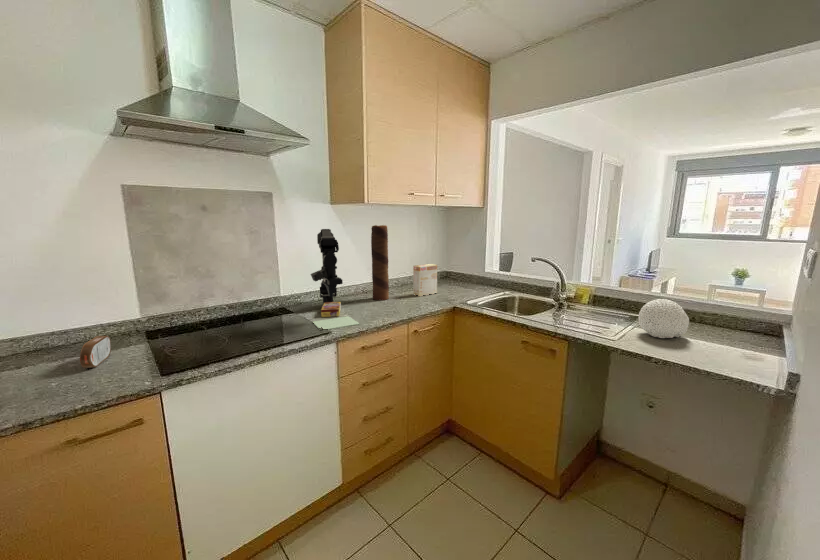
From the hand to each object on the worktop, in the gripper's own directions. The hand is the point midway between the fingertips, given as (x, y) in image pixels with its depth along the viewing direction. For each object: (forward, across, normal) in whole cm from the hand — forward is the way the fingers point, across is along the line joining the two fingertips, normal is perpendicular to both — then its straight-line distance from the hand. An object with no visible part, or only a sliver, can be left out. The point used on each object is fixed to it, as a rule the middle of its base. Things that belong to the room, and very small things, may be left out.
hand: (330, 296), depth 156 cm
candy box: (+9, -5, +1) cm, 11 cm away
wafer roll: (+12, -28, +40) cm, 50 cm away
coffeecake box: (+12, -25, +71) cm, 76 cm away
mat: (+12, +6, 0) cm, 13 cm away
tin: (+12, +7, -82) cm, 84 cm away
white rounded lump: (+12, +91, +113) cm, 146 cm away
